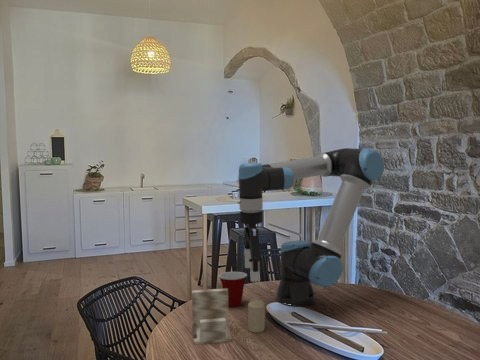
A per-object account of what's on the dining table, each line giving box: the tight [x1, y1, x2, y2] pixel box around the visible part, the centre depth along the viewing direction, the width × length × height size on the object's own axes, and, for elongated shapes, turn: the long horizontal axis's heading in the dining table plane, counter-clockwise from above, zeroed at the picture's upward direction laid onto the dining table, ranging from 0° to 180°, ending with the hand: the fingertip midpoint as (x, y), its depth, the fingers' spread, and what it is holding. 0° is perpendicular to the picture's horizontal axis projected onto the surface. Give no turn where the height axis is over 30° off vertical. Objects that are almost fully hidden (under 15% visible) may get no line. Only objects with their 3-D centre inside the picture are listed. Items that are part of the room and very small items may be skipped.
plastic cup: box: [218, 271, 248, 308], centre depth 158 cm, size 11×11×12 cm
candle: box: [247, 298, 266, 334], centre depth 137 cm, size 6×6×10 cm
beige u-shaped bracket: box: [191, 288, 233, 345], centre depth 134 cm, size 12×12×13 cm
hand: (251, 274), depth 136 cm, fingers open, 13 cm apart
